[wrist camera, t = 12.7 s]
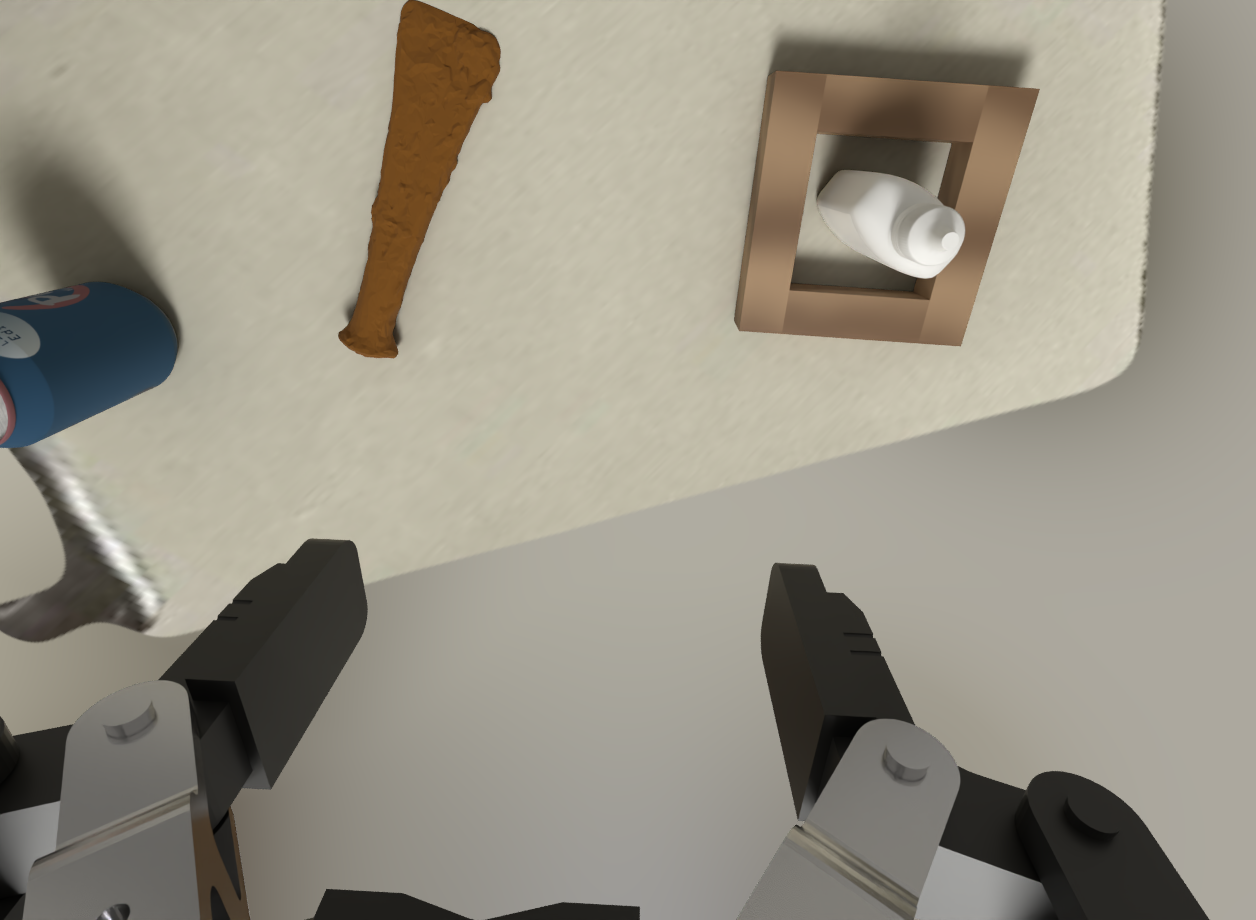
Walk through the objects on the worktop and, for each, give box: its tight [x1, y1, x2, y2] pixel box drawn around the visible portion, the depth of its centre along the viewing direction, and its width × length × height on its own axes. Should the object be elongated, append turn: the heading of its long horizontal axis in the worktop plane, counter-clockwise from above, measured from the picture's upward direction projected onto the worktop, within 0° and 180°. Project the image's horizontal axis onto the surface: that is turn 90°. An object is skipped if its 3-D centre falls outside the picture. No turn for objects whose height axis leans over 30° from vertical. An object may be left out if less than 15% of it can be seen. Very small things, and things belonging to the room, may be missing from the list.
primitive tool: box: [338, 0, 501, 358], centre depth 35 cm, size 19×6×4 cm, turn 159°
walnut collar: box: [734, 71, 1040, 346], centre depth 35 cm, size 13×13×2 cm
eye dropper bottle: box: [817, 170, 965, 279], centre depth 30 cm, size 4×6×12 cm
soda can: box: [0, 282, 178, 448], centre depth 35 cm, size 7×7×12 cm
